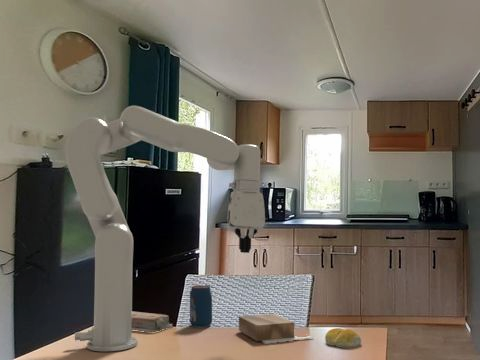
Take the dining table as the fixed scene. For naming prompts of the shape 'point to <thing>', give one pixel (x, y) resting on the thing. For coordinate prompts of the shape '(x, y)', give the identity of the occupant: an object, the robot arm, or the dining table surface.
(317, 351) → the dining table surface
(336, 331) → the bread roll
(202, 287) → the soda can
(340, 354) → the dining table surface
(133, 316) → the packaged product
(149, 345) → the dining table surface
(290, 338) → the mat
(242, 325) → the wooden block
